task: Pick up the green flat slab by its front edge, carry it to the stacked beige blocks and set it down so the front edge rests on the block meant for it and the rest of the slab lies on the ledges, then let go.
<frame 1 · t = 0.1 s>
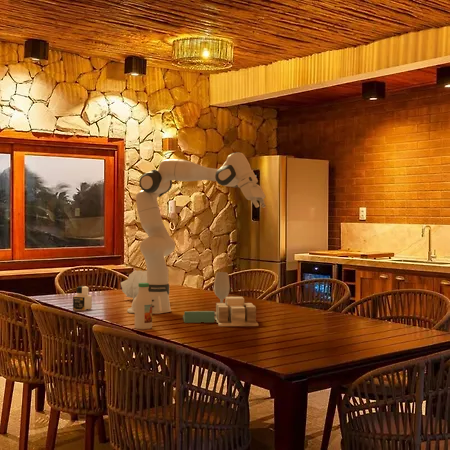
hand: (261, 207, 326), 54 cm above the table, tool tilted 30°, fingers open, 8 cm apart
medicine bottle: (82, 309, 352), on the table
green flat slab: (199, 322, 315), on the table
stacked beige blocks: (235, 321, 318), on the table
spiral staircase: (144, 301, 388), on the table
milk bottle: (143, 328, 298), on the table
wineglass: (221, 314, 340), on the table
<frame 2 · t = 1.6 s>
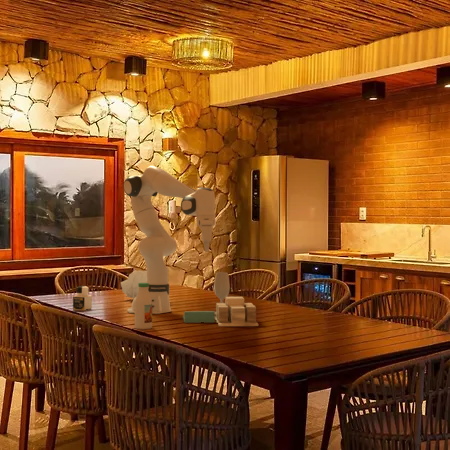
hand: (206, 251, 315), 33 cm above the table, tool pointing down, fingers open, 8 cm apart
nothing on the table moved.
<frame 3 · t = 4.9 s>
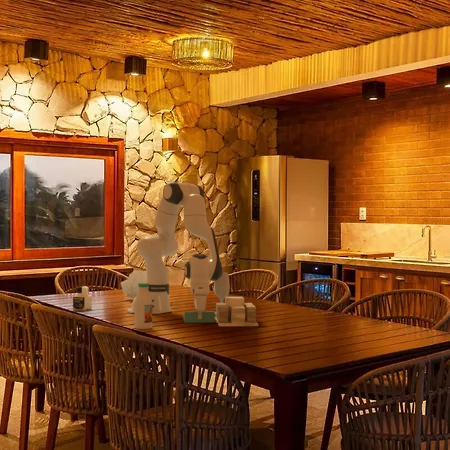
hand: (199, 318, 315), 2 cm above the table, tool pointing down, fingers closed on green flat slab
green flat slab: (199, 322, 315), on the table, touching gripper
everything else where it was.
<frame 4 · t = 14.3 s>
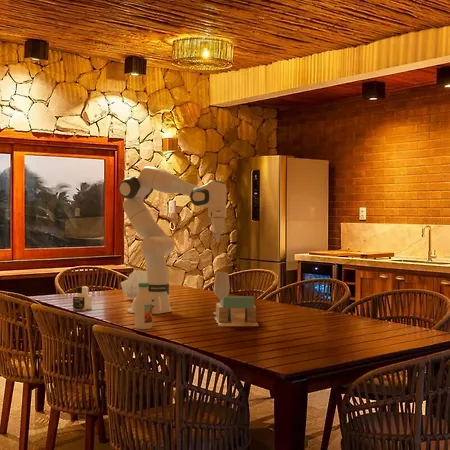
hand: (216, 242, 327), 37 cm above the table, tool pointing down, fingers open, 8 cm apart
green flat slab: (238, 307, 308), point 8 cm above the table, touching stacked beige blocks
everything else where it was.
at the end: green flat slab 0.0 cm from the target spot on the stacked beige blocks, point 8.0 cm above the stacked beige blocks's base; green flat slab tilted 0°; the gripper is holding nothing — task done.
